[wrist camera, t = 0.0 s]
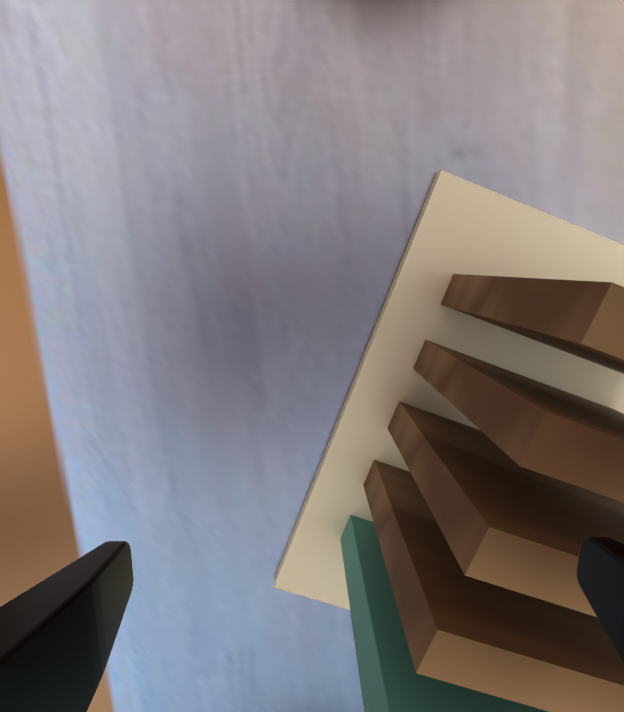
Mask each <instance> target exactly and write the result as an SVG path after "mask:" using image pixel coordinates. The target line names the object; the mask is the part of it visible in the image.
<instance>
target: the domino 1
mask: <svg viewBox="0 0 624 712" xmlns="http://www.w3.org/2000/svg"><path fill="white" fill-rule="evenodd" d="M340 541H341V548H342V555H343V562H344V569H345V576H346V583H347V590H348V598H349V605H350V612H351V619H352V626H353V633H354V640H355V647H356V654H357V661H358V668H359V675H360V682H361V690H362V697H363V704H364V711H365V712H549V711H545V710H542V709H538V708H535V707H531V706H528V705H524V704H521V703H517V702H514V701H511V700H507V699H504V698H500V697H497V696H493V695H490V694H486V693H483V692H479V691H476V690H472V689H469V688H466V687H462V686H459V685H455V684H452V683H448V682H445V681H441V680H438V679H434V678H431V677H427V676H424V675H421V674H417V673H416V672H415V668H414V664H413V661H412V657H411V654H410V650H409V647H408V643H407V639H406V636H405V632H404V629H403V625H402V622H401V618H400V615H399V611H398V607H397V604H396V600H395V597H394V593H393V590H392V586H391V582H390V579H389V575H388V572H387V568H386V565H385V561H384V558H383V554H382V550H381V547H380V543H379V540H378V536H377V533H376V529H375V525H374V522H372V521H369V520H366V519H363V518H359V517H356V516H353V515H350V517H349V519H348V522H347V524H346V526H345V529H344V531H343V533H342V536H341V538H340Z"/></svg>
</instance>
